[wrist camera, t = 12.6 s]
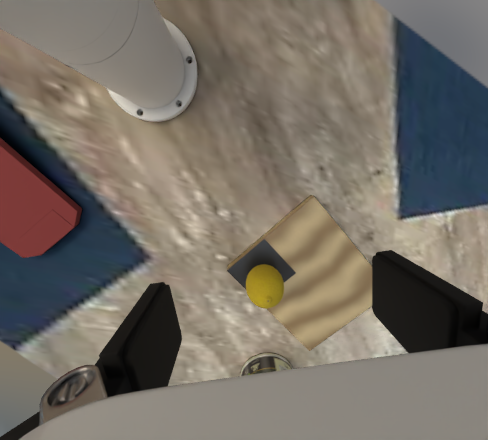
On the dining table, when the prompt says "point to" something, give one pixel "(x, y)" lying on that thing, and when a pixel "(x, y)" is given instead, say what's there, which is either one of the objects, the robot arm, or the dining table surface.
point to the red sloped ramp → (31, 207)
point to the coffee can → (265, 364)
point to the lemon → (265, 286)
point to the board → (311, 273)
